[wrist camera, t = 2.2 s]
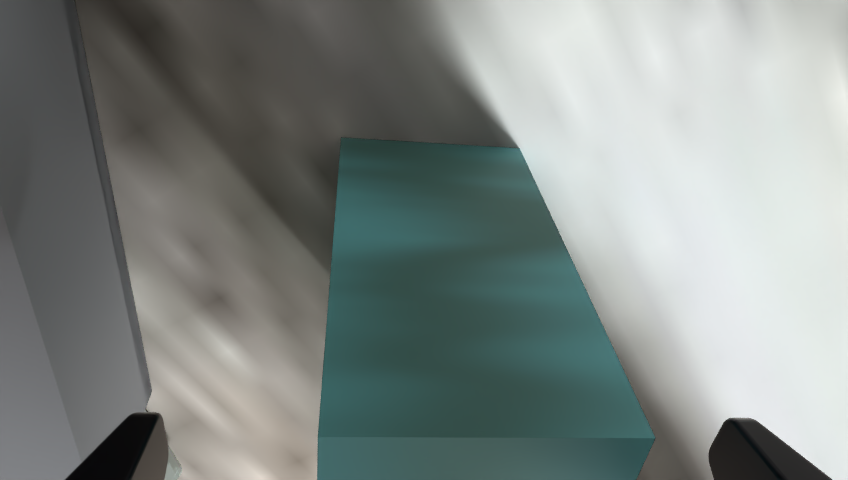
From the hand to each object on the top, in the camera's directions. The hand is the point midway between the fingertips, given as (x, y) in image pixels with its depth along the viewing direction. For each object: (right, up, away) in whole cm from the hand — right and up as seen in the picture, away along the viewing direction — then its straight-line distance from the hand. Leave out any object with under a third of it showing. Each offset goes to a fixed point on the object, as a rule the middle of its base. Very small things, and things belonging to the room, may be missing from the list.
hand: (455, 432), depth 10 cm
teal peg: (-1, +4, +5) cm, 6 cm away
